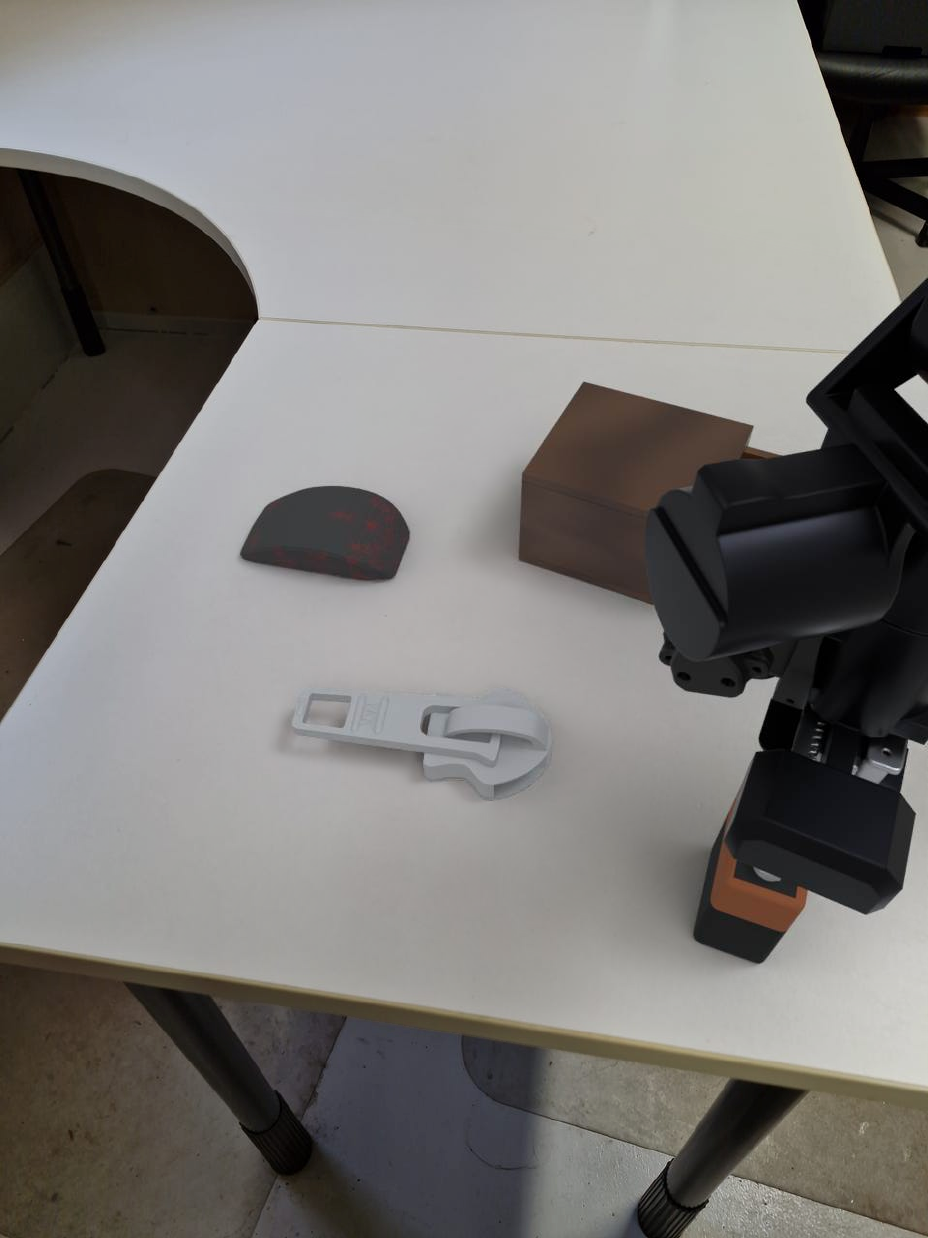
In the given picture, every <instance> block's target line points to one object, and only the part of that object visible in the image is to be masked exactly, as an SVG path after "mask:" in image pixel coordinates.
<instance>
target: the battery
mask: <svg viewBox="0 0 928 1238" xmlns="http://www.w3.org/2000/svg"><path fill="white" fill-rule="evenodd" d="M740 788H741V786H740V787H739V789H738V791H737V793H736V795H735V798H734V800H733V802H732V804H731V806H730V808H729V809H728V810H729V811H728V812H727V814H726V816H725V819H724V821H723V823H722V825H721V828H720V830H719V831H718V834H717V836H716V839H715V841H714V843H713V845H712V847H711V850H710V854H709V860H708V863H707V868H706V873H705V877H704V881H703V886H702V891H701V896H700V900H699V905H698V910H697V914H696V917H695V922H694V927H693V932H692V933H693V939H694V940H695V942H697V943H699V944H701V945H705V946H707V947H710V948H712V949H715V950H717V951H721V952H724V953H727V954H728V955H732V956H735V957H737V958H741V959H743V960H745V961H748V962H751V963H754V964H758V965H761V964H763V963H764V962H765V961H766V960H767V959H768V957H769V956H770V955H771V953H772V952H773V950H774V949H775V948H776V946H777V945H778V944H779V943H780V941H781V940H782V939H783V937H784V936H785V934H786V933H787V932H788V931H789V929H790V928H791V927H792V925H793V924H794V922H796V920H797V918H798V917H799V916H800V914H801V913H802V912H803V910H804V909H805V907H806V904H807V898H808V892H809V890H806V889H804V888H802V887H799V886H797V885H794V884H792V883H790V882H787V881H785V880H783V879H780V878H778V877H776V876H773V875H771V874H769V873H766V872H764V871H762V870H759V869H757V868H755V867H752V866H750V865H748V864H745V863H743V862H741V861H738V860H736V859H734V858H733V857H732V855H731V854H730V852H729V850H728V848H727V847H726V845H725V843H724V841H723V839H724V836H725V833H726V830H727V827H728V824H729V821H730V818H731V815H732V812H733V809H734V806H735V803H736V799H737V796H738V793H739V790H740Z"/></svg>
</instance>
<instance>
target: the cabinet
mask: <svg viewBox="0 0 928 1238" xmlns="http://www.w3.org/2000/svg"><path fill="white" fill-rule="evenodd" d="M754 428H755V426H754V425H753V424H750V423H746V422H742V421H737V420H733V419H730V418H727V417H724V416H723V417H722V416H718V415H714V414H710V413H706V412H704V411H703V412H702V411H699V410H696V409H691V408H687V407H684V406H680V405H677V404H673V403H667V402H665V401H660V400H657V399H653V398H649V397H645V396H641V395H637V394H635V393H629V392H626V391H622V390H618V389H615V388H611V387H607V386H603V385H599V384H595V383H591V382H588V381H582V383H581V384H580V386H579V388H578V389H577V391H576V392H575V393H574V395H573V396H572V398H571V399H570V401H569V402H568V404H567V405H566V407H565V408H564V410H563V411H562V413H561V414H560V416H559V417H558V419H557V421H556V422H555V423H554V425H553V426H552V428H551V430H550V431H549V432H548V434H547V435H546V436H545V438H544V440H543V441H542V442H541V444H540V446H539V447H538V449H537V450H536V452H535V453H534V454H533V456H532V457H531V459H530V461H529V462H528V463H527V465H526V466H525V468H524V470H523V471H522V472H521V487H520V488H521V489H520V513H519V515H520V516H519V535H518V536H519V537H518V560H519V561H521V562H524V563H528V564H531V565H534V566H537V567H539V568H542V569H545V570H548V571H551V572H555V573H558V574H560V575H564V576H566V577H569V578H572V579H574V580H575V579H576V580H577V581H581V582H585V583H588V584H590V585H593V586H596V587H599V588H603V589H605V590H609V591H612V592H615V593H617V594H621V595H624V596H626V597H630V598H633V599H635V600H639V601H641V602H644V603H648V604H651V605H653V606H654V603H653V600H652V596H651V593H650V588H649V583H648V578H647V573H646V563H645V529H646V521H647V517H648V513H649V510H650V508H654V507H656V505H657V503H658V502H659V500H660V498H661V496H662V495H664V494H665V493H666V492H668V491H669V490H674V489H679V488H685V487H690V486H693V485H694V481H695V477H696V473H697V471H698V470H699V469H700V468H701V467H702V466H703V465H705V464H711V463H717V462H722V461H728V460H734V459H741V457H742V455H743V453H744V450H745V448H746V446H748V447H749V445H750V440H751V437H752V434H753V431H754Z"/></svg>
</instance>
